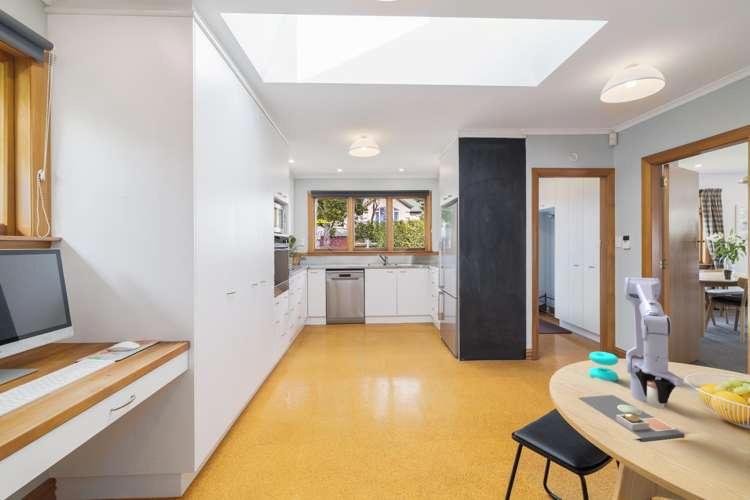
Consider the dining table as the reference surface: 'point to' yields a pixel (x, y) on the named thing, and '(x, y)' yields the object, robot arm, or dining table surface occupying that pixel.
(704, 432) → the dining table surface
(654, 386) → the white cylinder
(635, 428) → the board
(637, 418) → the button
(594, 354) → the donuts
